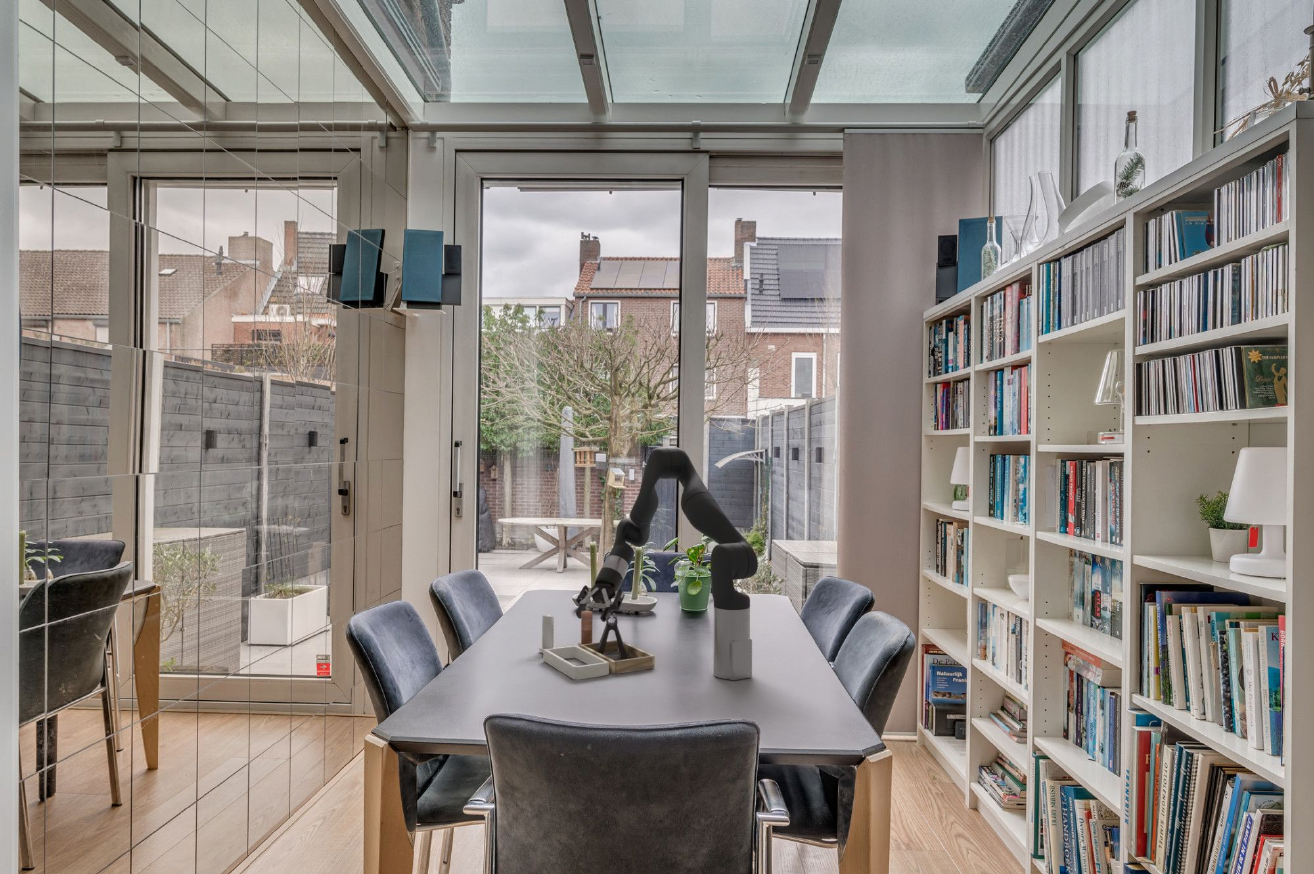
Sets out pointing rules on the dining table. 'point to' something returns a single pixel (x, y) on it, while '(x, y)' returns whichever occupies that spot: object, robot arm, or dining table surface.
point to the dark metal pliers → (621, 646)
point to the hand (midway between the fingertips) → (590, 618)
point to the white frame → (569, 655)
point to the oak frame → (614, 650)
